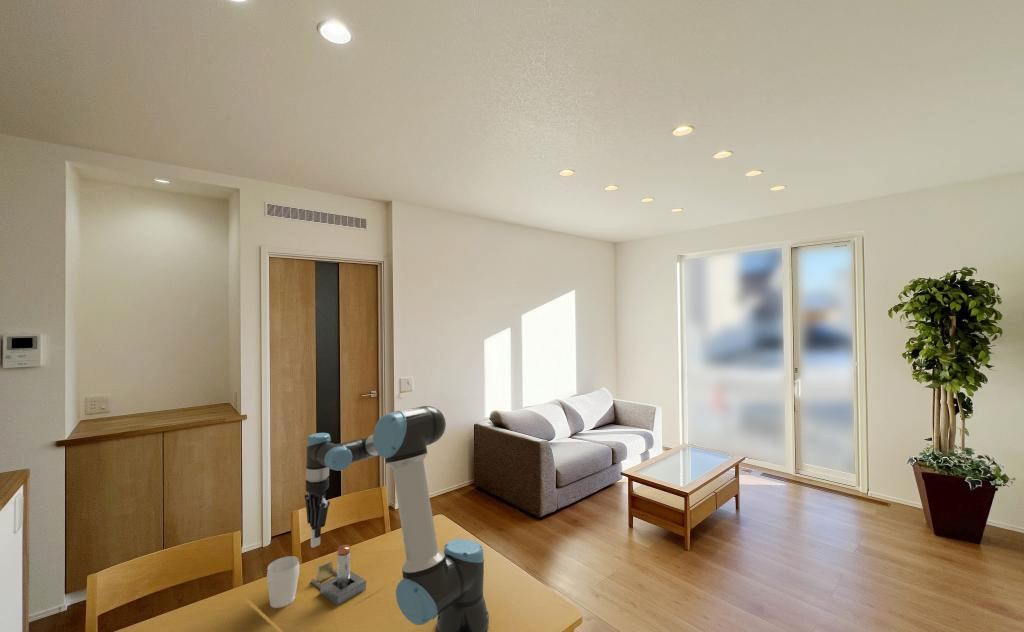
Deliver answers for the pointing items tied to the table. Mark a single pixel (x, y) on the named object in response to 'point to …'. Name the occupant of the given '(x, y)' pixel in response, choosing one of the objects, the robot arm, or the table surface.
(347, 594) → the block
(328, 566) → the keeper
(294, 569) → the cup
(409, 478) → the robot arm
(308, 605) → the table surface
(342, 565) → the pin
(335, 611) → the table surface
